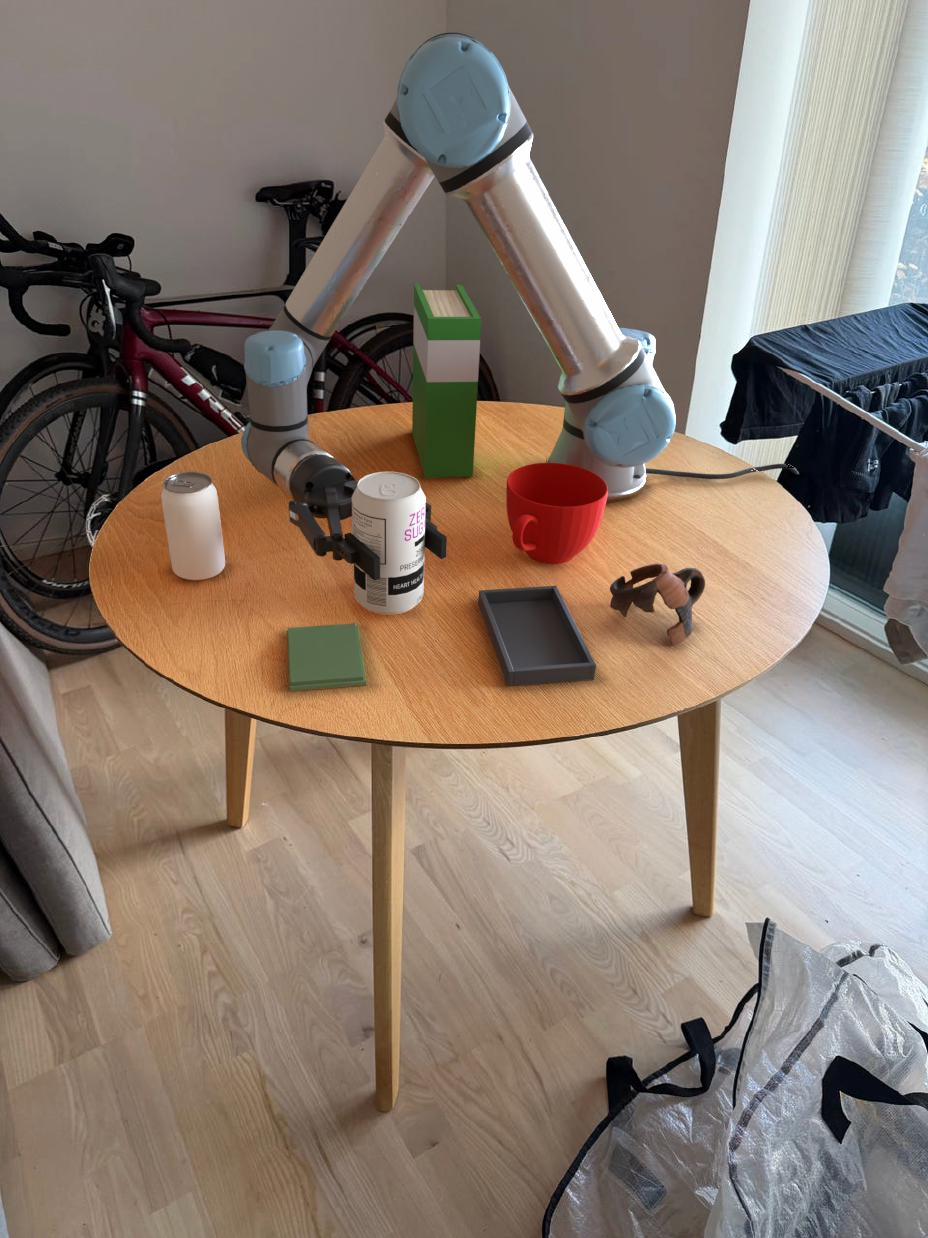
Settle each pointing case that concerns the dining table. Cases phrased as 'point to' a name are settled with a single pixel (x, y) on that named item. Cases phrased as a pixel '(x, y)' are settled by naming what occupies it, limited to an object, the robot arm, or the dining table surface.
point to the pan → (535, 636)
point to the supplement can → (390, 541)
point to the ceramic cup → (554, 510)
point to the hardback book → (445, 381)
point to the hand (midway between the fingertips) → (411, 558)
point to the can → (193, 526)
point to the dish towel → (325, 657)
